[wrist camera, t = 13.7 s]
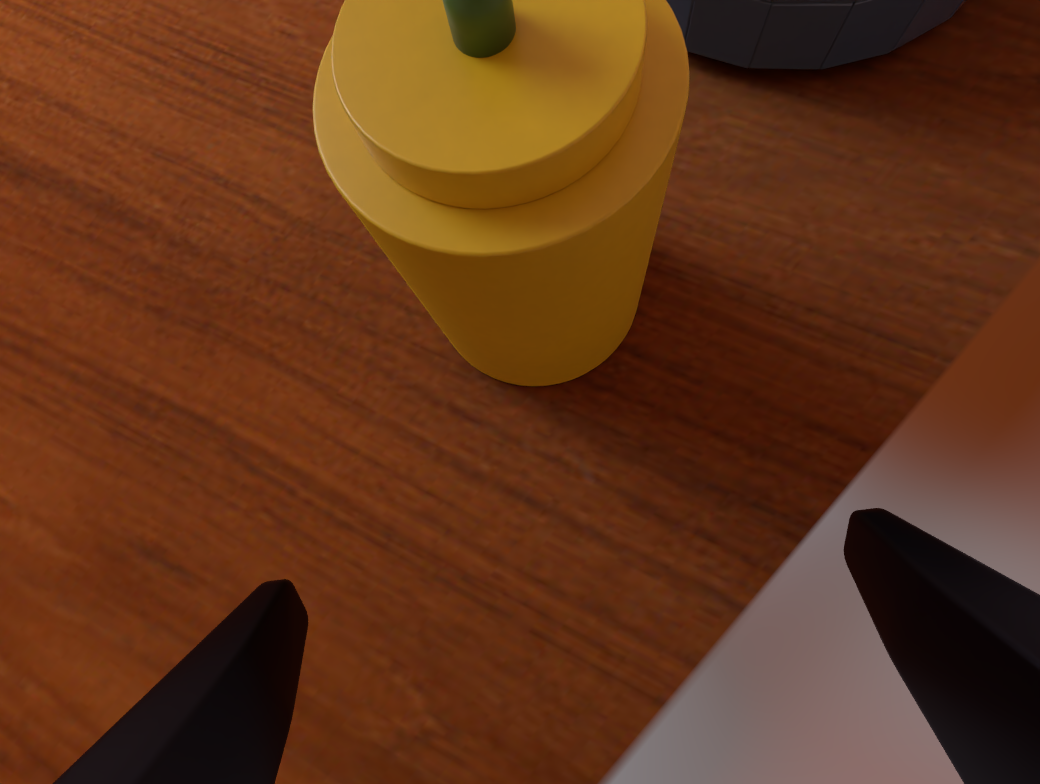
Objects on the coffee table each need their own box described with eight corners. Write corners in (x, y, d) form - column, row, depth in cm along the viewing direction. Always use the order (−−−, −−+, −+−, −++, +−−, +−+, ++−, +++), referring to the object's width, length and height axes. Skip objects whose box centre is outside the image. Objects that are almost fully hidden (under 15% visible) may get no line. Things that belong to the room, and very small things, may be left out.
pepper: (672, 341, 18) (833, 12, 6) (474, 417, 18) (280, 230, 6) (593, 170, 19) (607, -338, 8) (413, 240, 19) (172, -158, 8)
